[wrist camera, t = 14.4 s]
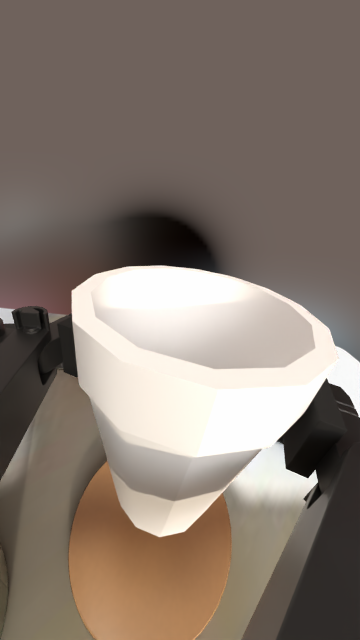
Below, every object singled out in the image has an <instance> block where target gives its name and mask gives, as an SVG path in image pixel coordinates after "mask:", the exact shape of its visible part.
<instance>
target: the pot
mask: <svg viewBox="0 0 360 640" xmlns="http://www.w3.org/2000/svg"><path fill="white" fill-rule="evenodd" d="M7 599H8V572H7V566H6V559H5V556H4V554H3V551H2V549H1V547H0V639H1V635H2V631H3V626H4V620H5V615H6V609H7Z"/></svg>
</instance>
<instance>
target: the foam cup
mask: <svg viewBox="0 0 360 640" xmlns="http://www.w3.org/2000/svg"><path fill="white" fill-rule="evenodd" d="M72 324H73V333H74V343H75V353H76V362H77V372H78V382H79V386H80V387H81V388H82V389H83V390H84V391H85V392H86V394H87V395H88V396H89V397H90V401H91V404H92V408H93V411H94V415H95V418H96V422H97V425H98V429H99V432H100V436H101V439H102V443H103V446H104V450H105V454H106V457H107V461H108V464H109V468H110V471H111V475H112V478H113V482H114V485H115V489H116V492H117V496H118V499H119V502H120V505H121V507H122V508H123V510H124V511H125V513H126V514H127V515H128V517H129V518H130V520H131V521H132V522H133V524H134V525H135V527H137V528H139V529H141V530H144V531H146V532H148V533H151V534H153V535H156V536H158V537H163V536H168V535H172V534H177V533H181V532H185V531H186V530H187V529H188V528H189V527H190V526H191V525H192V524H193V523H194V522H195V521H196V520H197V519H198V518H199V517H200V516H201V515H202V514H203V513H204V512H205V511H206V510H207V509H208V508H209V507H210V505H211V504H212V503H213V502H214V501H215V500H216V499H217V498H218V497H219V496H220V494H221V493H222V492H223V491H224V490H225V489H226V488H227V487H228V486H229V485H230V484H231V482H232V481H233V480H234V479H235V478H236V477H237V476H238V475H239V474H240V473H241V471H242V470H243V469H244V468H245V467H246V466H247V465H248V464H249V463H250V462H251V460H252V459H253V458H254V457H255V456H256V455H257V454H258V453H259V452H260V451H261V450H262V449H263V448H270V447H271V446H272V445H273V444H274V443H275V442H276V441H277V440H278V439H279V438H280V437H281V436H282V435H283V434H284V433H285V432H286V431H287V430H288V429H289V428H290V427H291V426H292V425H293V424H294V423H295V422H296V421H297V420H298V419H299V418H300V417H301V416H302V415H303V414H304V412H305V411H306V409H307V408H308V406H309V405H310V403H311V401H312V400H313V398H314V397H315V395H316V394H317V392H318V390H319V389H320V387H321V386H322V384H323V383H324V381H325V379H326V378H327V376H328V375H329V373H330V371H331V370H332V368H333V367H334V365H335V364H336V362H337V360H338V359H339V357H338V354H337V351H336V348H335V345H334V342H333V339H332V336H331V333H330V330H329V328H327V327H326V326H325V325H324V324H322V322H320V321H319V320H318V319H317V318H316V317H314V316H313V315H312V314H311V313H309V312H308V311H307V310H306V309H305V308H304V307H302V306H301V305H299V304H297V303H295V302H293V301H291V300H289V299H287V298H285V297H283V296H281V295H279V294H277V293H275V292H273V291H271V290H269V289H267V288H264V287H261V286H258V285H255V284H252V283H249V282H246V281H243V280H240V279H237V278H234V277H231V276H226V275H222V274H217V273H213V272H208V271H203V270H198V269H189V268H180V267H169V266H137V267H125V268H120V269H115V270H111V271H107V272H102V273H98V274H95V275H93V276H92V277H91V278H89V279H88V280H86V281H85V282H84V283H82V284H81V285H79V286H78V287H77V288H75V289H74V290H72Z"/></svg>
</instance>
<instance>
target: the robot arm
mask: <svg viewBox="0 0 360 640" xmlns="http://www.w3.org/2000/svg"><path fill="white" fill-rule="evenodd" d="M12 315H13V319H14V323H15V327H16V329H12V328H4V324H3V320H2V319H1V318H0V480H1V478H2V476H3V475H4V473H5V471H6V469H7V467H8V465H9V463H10V461H11V459H12V458H13V456H14V454H15V452H16V450H17V448H18V446H19V444H20V442H21V440H22V439H23V437H24V435H25V433H26V431H27V429H28V427H29V425H30V423H31V421H32V420H33V418H34V416H35V414H36V412H37V410H38V408H39V406H40V404H41V403H42V401H43V399H44V397H45V395H46V393H47V391H48V389H49V387H50V385H51V384H52V382H53V380H54V378H55V376H56V374H57V366H58V365H60V364H61V363H63V368H64V372H65V373H68V374H70V375H72V376H75V377H78V372H77V362H76V353H75V343H74V333H73V324H72V313H71V314H69V315H68V316H65V317H63V318H60V319H58V320H56V321H54V322H52V323H50V324H49V318H48V312H47V310H46V309H45V308H43V307H38V306H28V307H22V308H19V309H16V310H14V311H12ZM358 416H359V415H358V413H357V411H356V409H354V405H353V403H352V401H351V399H350V397H349V396H348V395H347V394H346V393H345V392H344V390H343V389H342V388H341V387H339V386H335V385H332V384H329V383H328V380H327V378H326V379H325V381H324V383H323V384H322V386H321V387H320V389H319V390H318V392H317V394H316V395H315V397H314V398H313V400H312V401H311V403H310V405H309V406H308V408H307V409H306V411H305V412H304V414H303V415H302V416H301V417H300V418H299V419H298V420H297V421H296V422H295V423H294V424H293V425H292V426H291V427H290V428H289V429H288V430H287V431H286V432H285V433H284V434H283V441H284V453H285V464H286V469H288V470H290V471H292V472H295V473H297V474H299V475H302V476H304V477H306V478H309V476H310V475H311V474H312V473H313V472H314V470H315V469H316V474H317V479H318V483H317V484H316V485H315V486H314V487H313V489H312V490H311V491H310V492H309V493H308V494H307V495H306V496H305V498H304V500H305V501H306V504H305V506H304V508H303V510H302V512H301V514H300V516H299V519H298V521H297V523H296V525H295V527H294V529H293V531H292V533H291V535H290V538H289V540H288V542H287V544H286V546H285V548H284V550H283V552H282V555H281V557H280V559H279V561H278V563H277V565H276V567H275V569H274V572H273V574H272V576H271V578H270V580H269V582H268V584H267V586H266V588H265V591H264V593H263V595H262V597H261V599H260V601H259V603H258V605H257V608H256V610H255V612H254V614H253V616H252V618H251V620H250V622H249V625H248V627H247V629H246V631H245V633H244V635H243V637H242V639H241V640H360V418H359V417H358Z"/></svg>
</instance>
